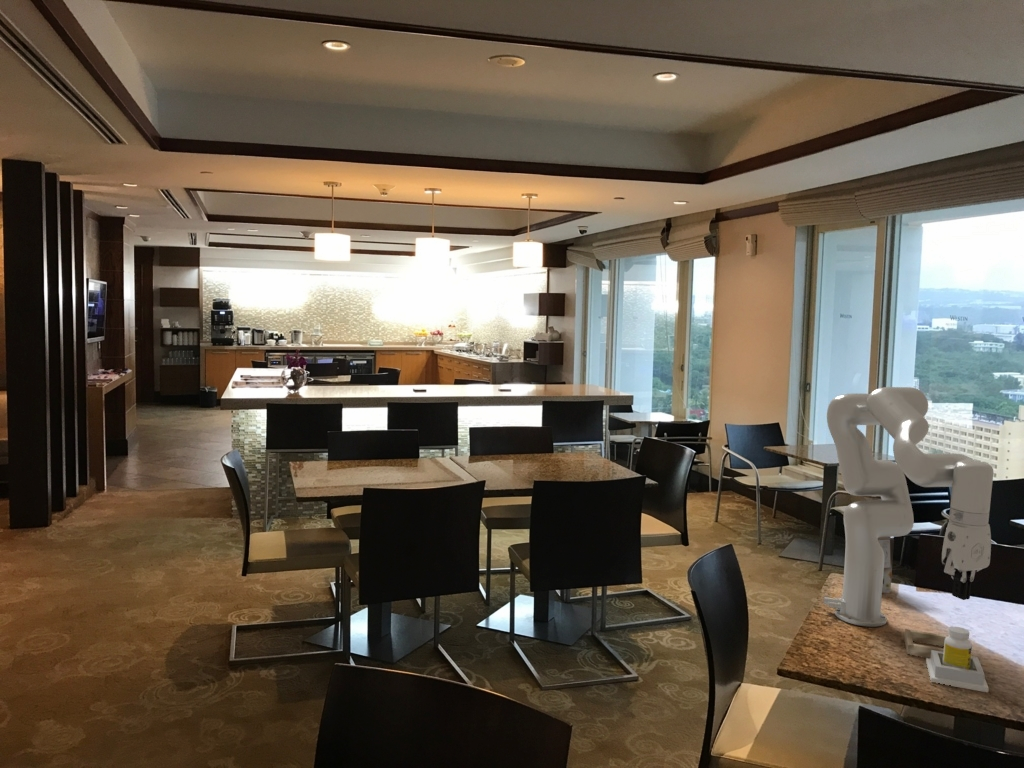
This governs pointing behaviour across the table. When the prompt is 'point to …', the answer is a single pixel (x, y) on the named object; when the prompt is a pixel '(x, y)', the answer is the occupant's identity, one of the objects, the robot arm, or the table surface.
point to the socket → (956, 673)
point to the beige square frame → (923, 638)
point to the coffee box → (887, 561)
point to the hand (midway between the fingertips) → (960, 597)
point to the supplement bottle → (957, 648)
